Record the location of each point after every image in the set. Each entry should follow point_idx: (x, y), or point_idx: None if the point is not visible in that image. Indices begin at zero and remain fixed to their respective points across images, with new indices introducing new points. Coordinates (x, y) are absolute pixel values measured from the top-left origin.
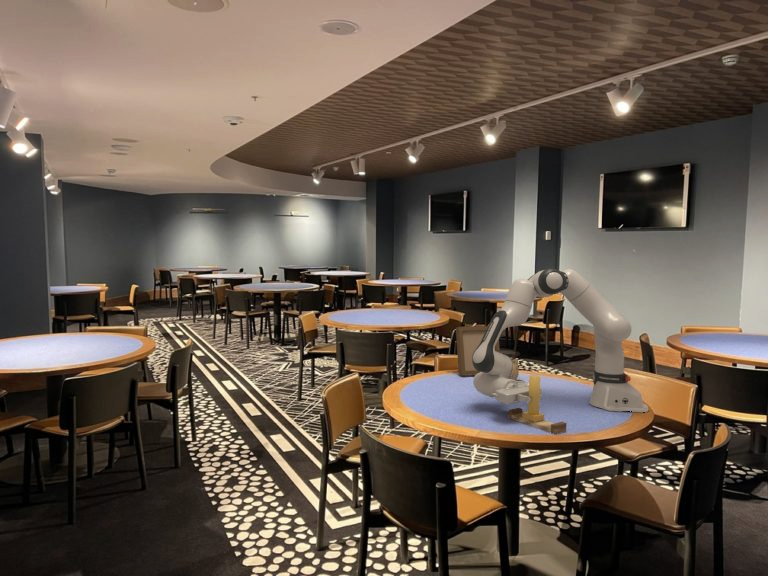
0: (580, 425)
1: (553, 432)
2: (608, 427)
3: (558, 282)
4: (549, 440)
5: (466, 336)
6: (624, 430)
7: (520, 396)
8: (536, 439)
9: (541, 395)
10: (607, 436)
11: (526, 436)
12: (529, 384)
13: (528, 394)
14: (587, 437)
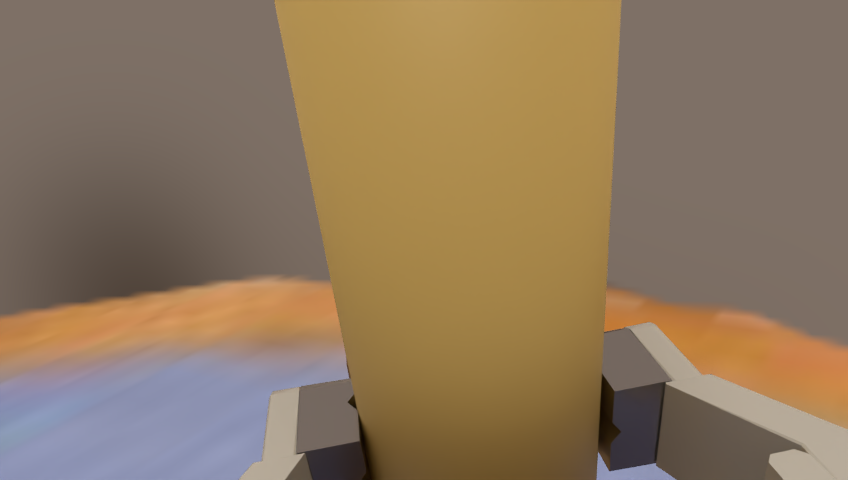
0: (101, 460)
1: None
2: (5, 378)
3: None
4: (607, 307)
5: None
6: (13, 326)
7: (841, 450)
8: (699, 331)
9: (274, 392)
10: (213, 290)
11: (768, 385)
12: (614, 111)
13: (594, 397)
14: (330, 299)
